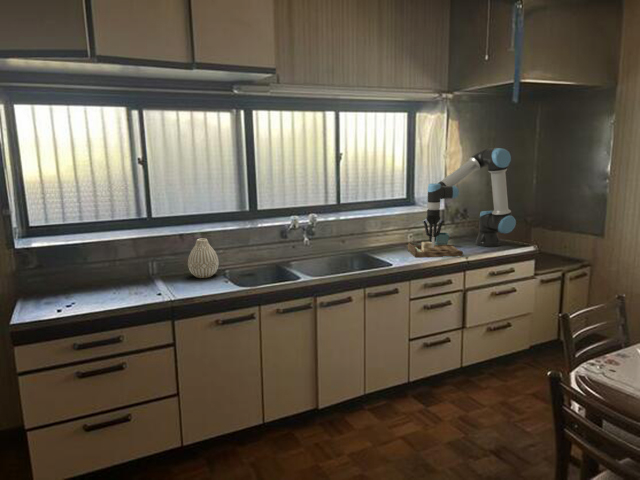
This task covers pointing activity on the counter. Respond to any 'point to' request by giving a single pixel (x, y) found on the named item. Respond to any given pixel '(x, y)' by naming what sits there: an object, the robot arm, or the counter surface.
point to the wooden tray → (434, 251)
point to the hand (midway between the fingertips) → (432, 247)
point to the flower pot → (442, 239)
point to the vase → (203, 259)
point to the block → (426, 246)
